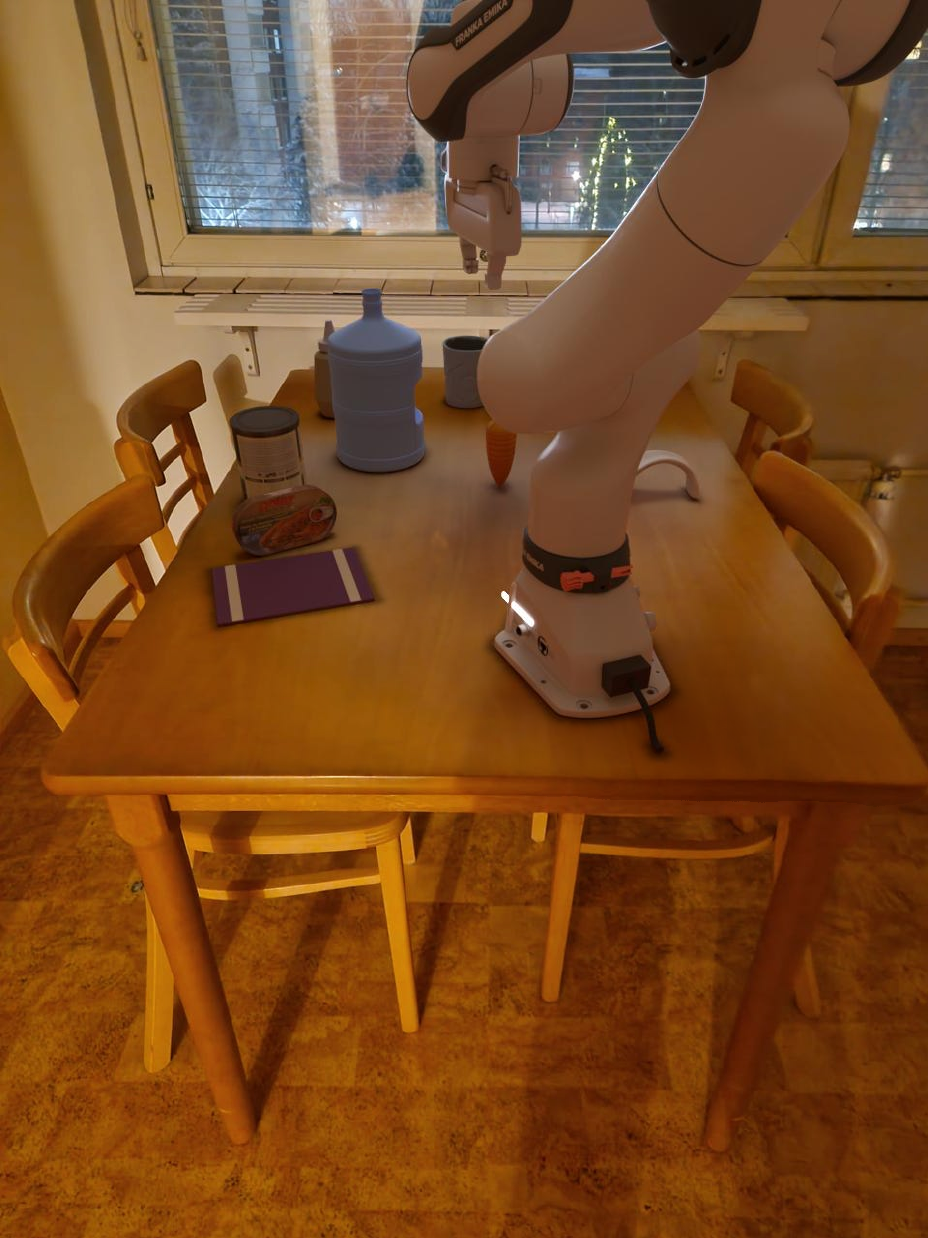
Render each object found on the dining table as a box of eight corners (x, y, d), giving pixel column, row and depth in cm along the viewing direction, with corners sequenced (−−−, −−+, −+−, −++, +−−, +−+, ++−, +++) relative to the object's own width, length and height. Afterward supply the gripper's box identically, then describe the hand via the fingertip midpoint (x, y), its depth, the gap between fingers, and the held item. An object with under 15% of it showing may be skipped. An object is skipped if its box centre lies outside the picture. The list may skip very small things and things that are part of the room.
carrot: (512, 494, 132) (515, 405, 123) (482, 491, 132) (483, 402, 124) (516, 481, 136) (520, 394, 127) (487, 478, 136) (489, 391, 128)
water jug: (371, 482, 135) (359, 308, 119) (320, 454, 145) (302, 289, 129) (443, 457, 144) (440, 291, 128) (390, 432, 153) (381, 275, 137)
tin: (240, 562, 114) (230, 508, 109) (234, 552, 116) (224, 499, 111) (340, 536, 120) (335, 484, 115) (332, 527, 122) (327, 476, 117)
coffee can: (231, 502, 129) (215, 417, 121) (285, 482, 135) (274, 400, 127) (267, 523, 123) (253, 436, 115) (322, 502, 129) (312, 417, 121)
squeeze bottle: (365, 411, 162) (359, 318, 152) (339, 423, 157) (331, 328, 146) (334, 403, 166) (325, 312, 156) (307, 415, 160) (297, 322, 150)
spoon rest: (555, 513, 126) (558, 471, 122) (545, 481, 136) (547, 440, 132) (704, 510, 127) (713, 467, 123) (683, 478, 137) (690, 437, 133)
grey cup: (461, 389, 173) (462, 332, 166) (501, 399, 168) (503, 340, 161) (433, 403, 166) (431, 343, 159) (473, 413, 161) (473, 353, 154)
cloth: (374, 600, 106) (374, 597, 106) (218, 626, 101) (217, 623, 101) (354, 549, 117) (354, 546, 117) (212, 570, 112) (211, 567, 112)
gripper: (537, 170, 92) (531, 296, 100) (481, 152, 108) (480, 263, 116) (485, 171, 91) (483, 300, 99) (436, 154, 107) (438, 266, 115)
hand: (481, 280), depth 108 cm, fingers open, 8 cm apart
